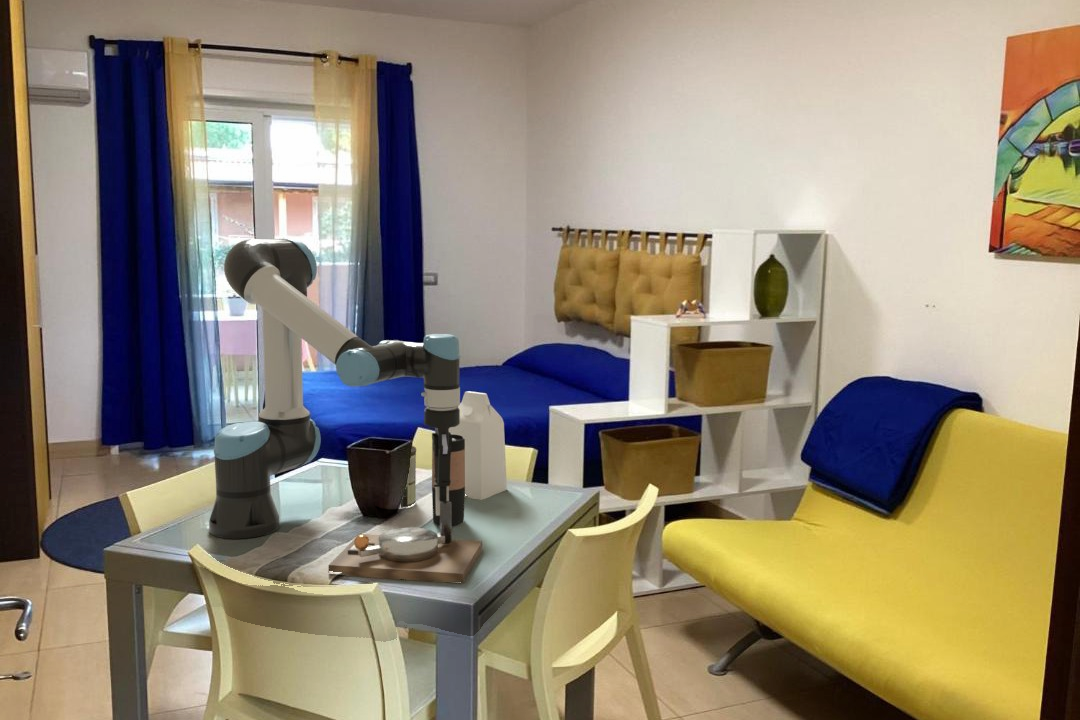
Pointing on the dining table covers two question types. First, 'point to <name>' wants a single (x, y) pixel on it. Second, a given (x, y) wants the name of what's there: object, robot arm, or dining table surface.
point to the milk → (482, 446)
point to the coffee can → (410, 482)
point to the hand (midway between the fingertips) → (442, 514)
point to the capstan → (409, 540)
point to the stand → (411, 563)
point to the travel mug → (453, 482)
